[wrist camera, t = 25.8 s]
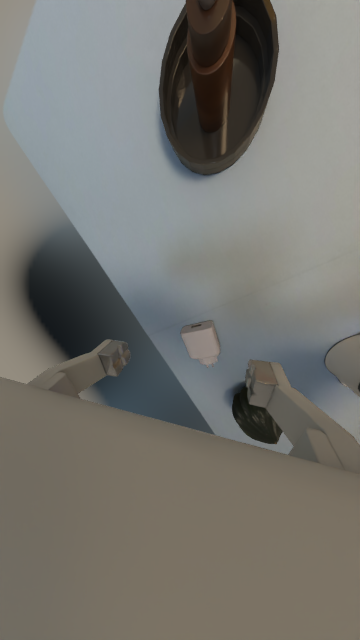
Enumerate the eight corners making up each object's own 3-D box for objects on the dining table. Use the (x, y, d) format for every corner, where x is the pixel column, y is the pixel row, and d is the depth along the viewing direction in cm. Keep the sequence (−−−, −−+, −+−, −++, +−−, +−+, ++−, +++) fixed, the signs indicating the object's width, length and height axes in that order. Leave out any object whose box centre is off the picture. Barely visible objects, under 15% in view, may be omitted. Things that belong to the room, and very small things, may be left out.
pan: (279, -1, 19) (294, -64, 15) (257, 166, 26) (264, 152, 22) (163, 48, 23) (152, 7, 19) (172, 182, 30) (165, 172, 26)
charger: (197, 363, 50) (183, 326, 45) (225, 360, 47) (212, 319, 42) (196, 373, 46) (179, 334, 41) (225, 371, 43) (211, 327, 38)
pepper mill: (231, 79, 23) (246, -122, 10) (228, 128, 25) (237, 13, 13) (198, 90, 24) (175, -78, 11) (198, 136, 26) (179, 38, 14)
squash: (217, 411, 51) (253, 464, 40) (234, 383, 44) (283, 437, 33) (243, 398, 58) (280, 440, 47) (261, 372, 51) (308, 413, 40)
